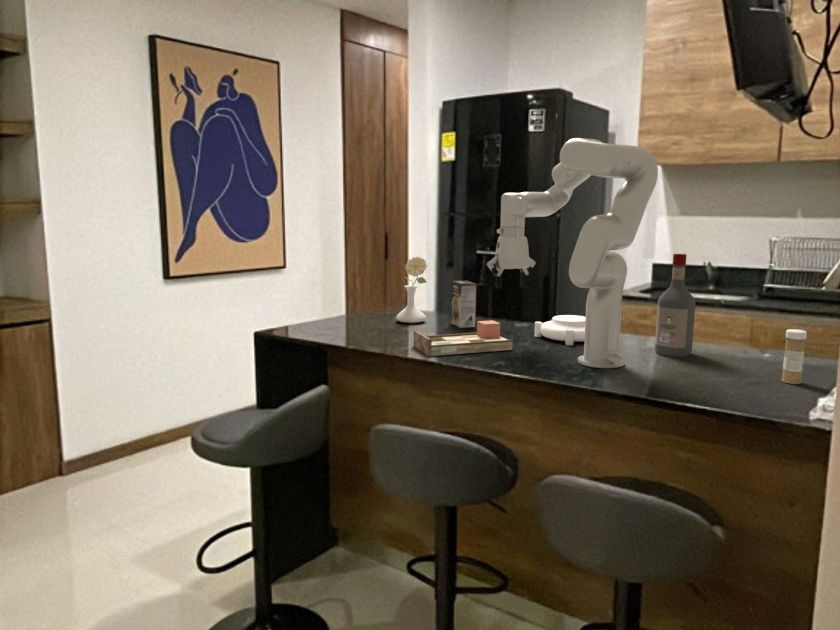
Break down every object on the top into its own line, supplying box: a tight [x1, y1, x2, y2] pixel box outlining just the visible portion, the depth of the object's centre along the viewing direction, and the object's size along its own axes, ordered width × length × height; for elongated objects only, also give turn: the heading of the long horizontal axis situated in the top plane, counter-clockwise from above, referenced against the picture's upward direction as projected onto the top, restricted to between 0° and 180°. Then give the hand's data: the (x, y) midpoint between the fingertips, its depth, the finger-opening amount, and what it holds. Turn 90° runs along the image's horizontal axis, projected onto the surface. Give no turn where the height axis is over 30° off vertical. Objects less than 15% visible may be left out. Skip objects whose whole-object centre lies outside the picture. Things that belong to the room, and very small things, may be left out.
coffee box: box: [451, 280, 477, 329], centre depth 243 cm, size 9×6×16 cm
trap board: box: [413, 330, 513, 357], centre depth 206 cm, size 14×28×5 cm, turn 109°
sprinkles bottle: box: [781, 328, 808, 385], centre depth 167 cm, size 5×5×13 cm
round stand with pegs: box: [533, 314, 586, 346], centre depth 221 cm, size 24×24×7 cm
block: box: [476, 319, 501, 338], centre depth 212 cm, size 6×6×4 cm
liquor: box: [654, 253, 696, 358], centre depth 197 cm, size 9×9×30 cm
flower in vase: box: [395, 256, 428, 324], centre depth 247 cm, size 13×11×25 cm
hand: (510, 287), depth 212 cm, fingers open, 7 cm apart
